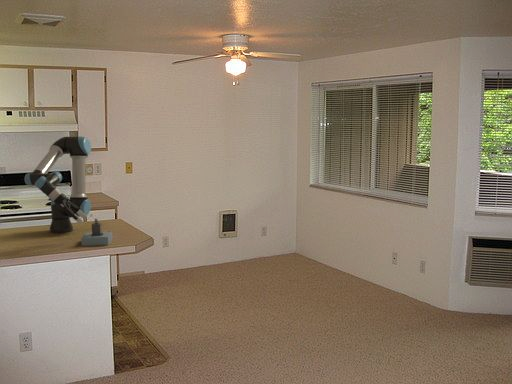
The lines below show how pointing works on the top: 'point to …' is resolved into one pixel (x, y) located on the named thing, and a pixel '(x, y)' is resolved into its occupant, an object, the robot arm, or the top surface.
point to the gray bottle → (96, 228)
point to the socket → (97, 239)
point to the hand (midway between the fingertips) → (83, 220)
